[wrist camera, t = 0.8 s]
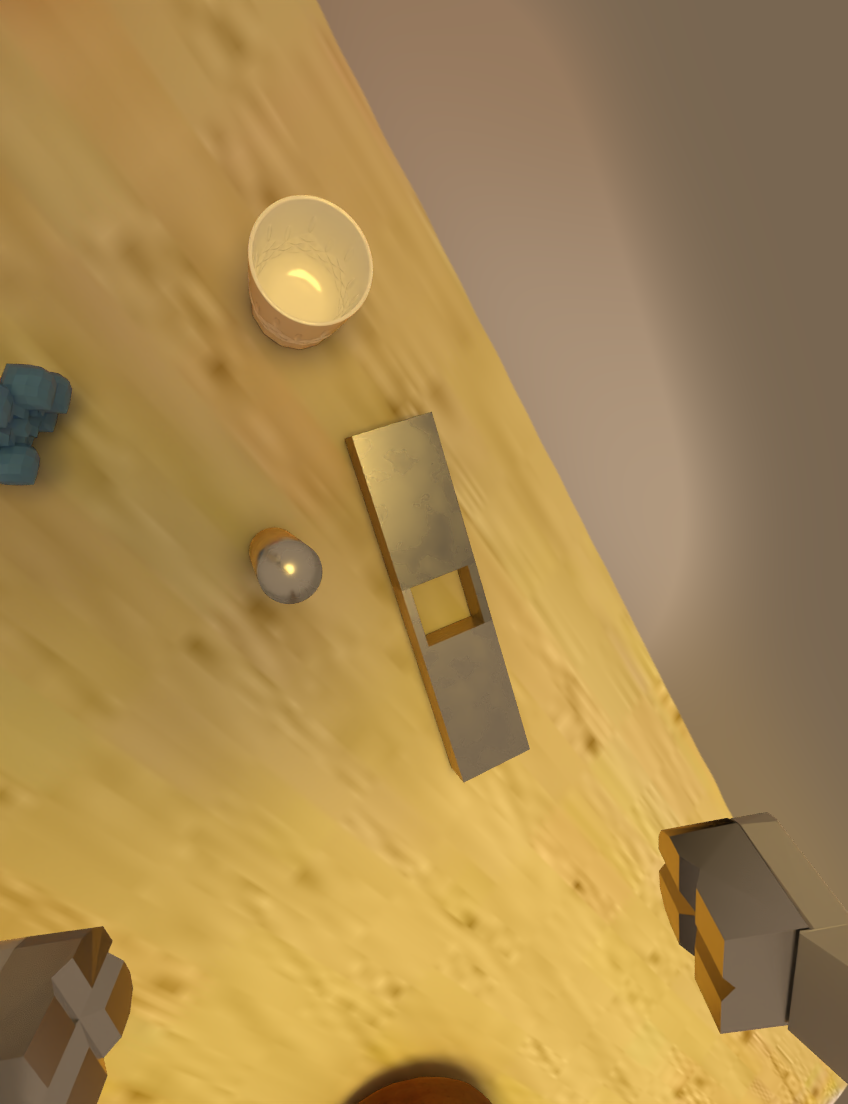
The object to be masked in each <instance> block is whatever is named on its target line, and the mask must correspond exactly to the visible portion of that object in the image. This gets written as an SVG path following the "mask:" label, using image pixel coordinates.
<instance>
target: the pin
mask: <svg viewBox="0 0 848 1104" xmlns="http://www.w3.org/2000/svg"><path fill="white" fill-rule="evenodd" d="M249 556H250V560H251V563H252V565H253V568H254V571H255V573H256V576H257V579H258V581H259V584H260V586H261V588H262V590H263V591H264V592H265V594H266V595H267V596H269V597H270V598H271V599H273V600H275V601H277V602H280V603H284V604H294V603H299V602H302V601H304V600H306V599H307V598H309V597H310V596H311V595H312V594H313V593H314V592H315V591H316V590H317V588H318V586H319V584H320V582H321V578H322V565H321V561H320V559H319V557H318V555H317V554H316V553H315V551H314V550H313V549H311V548H310V547H309V546H307V545H306V544H305V543H303V542H302V541H301V540H299V539H298V538H296V537H295V536H294V535H292V534H291V533H289V532H288V531H286V530H284V529H282V528H276V527H272V528H267V529H264V530H262V531H260V532H259V533H258V534H257V535H256V536H255V537H254V538H253V540H252V541H251V544H250V547H249Z"/></svg>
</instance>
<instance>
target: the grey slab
mask: <svg viewBox="0 0 848 1104" xmlns="http://www.w3.org/2000/svg"><path fill="white" fill-rule="evenodd" d="M345 442H346V445H347V449H348V452H349V455H350V458H351V461H352V464H353V467H354V470H355V473H356V476H357V479H358V482H359V485H360V488H361V492H362V495H363V498H364V501H365V504H366V507H367V510H368V513H369V516H370V519H371V522H372V525H373V528H374V531H375V535H376V538H377V541H378V544H379V547H380V550H381V553H382V556H383V559H384V562H385V565H386V568H387V571H388V574H389V578H390V581H391V584H392V587H393V590H394V593H395V596H396V599H397V602H398V605H399V608H400V611H401V614H402V617H403V621H404V624H405V627H406V630H407V633H408V636H409V639H410V642H411V645H412V648H413V651H414V654H415V657H416V660H417V663H418V667H419V670H420V673H421V676H422V679H423V682H424V685H425V688H426V691H427V694H428V697H429V700H430V703H431V706H432V710H433V713H434V716H435V719H436V722H437V725H438V728H439V731H440V734H441V737H442V740H443V743H444V746H445V749H446V753H447V756H448V759H449V762H450V765H451V768H452V769H453V770H454V771H455V773H456V774H457V775H458V776H459V778H460V779H461V780H462V781H463V782H466V781H468V780H470V779H472V778H474V777H476V776H478V775H480V774H482V773H484V772H486V771H487V770H489V769H491V768H493V767H495V766H497V765H499V764H501V763H503V762H505V761H507V760H509V759H511V758H513V757H515V756H517V755H519V754H521V753H523V752H525V751H527V750H529V749H530V748H529V745H528V741H527V738H526V735H525V731H524V728H523V724H522V721H521V717H520V714H519V710H518V707H517V704H516V700H515V697H514V693H513V690H512V686H511V683H510V680H509V676H508V673H507V669H506V666H505V662H504V659H503V655H502V652H501V649H500V645H499V642H498V638H497V635H496V631H495V628H494V625H493V621H492V618H491V614H490V611H489V607H488V604H487V600H486V597H485V594H484V590H483V587H482V583H481V580H480V576H479V573H478V570H477V566H476V563H475V559H474V556H473V552H472V549H471V545H470V542H469V539H468V535H467V532H466V528H465V525H464V521H463V518H462V515H461V511H460V508H459V504H458V501H457V497H456V494H455V490H454V487H453V484H452V480H451V477H450V473H449V470H448V466H447V463H446V460H445V456H444V453H443V449H442V446H441V442H440V439H439V436H438V432H437V429H436V425H435V422H434V418H433V415H432V412H430V413H426V414H423V415H420V416H416V417H413V418H410V419H407V420H403V421H400V422H397V423H394V424H390V425H387V426H384V427H381V428H377V429H374V430H371V431H367V432H364V433H361V434H358V435H354V436H351V437H348V438H346V439H345ZM454 570H458V573H459V577H460V580H461V583H462V587H463V590H464V593H465V597H466V600H467V603H468V607H469V610H470V613H471V616H470V617H468V618H465V619H463V620H460V621H458V622H456V623H453V624H451V625H448V626H446V627H444V628H441V629H439V630H437V631H434V632H432V633H429V634H427V635H425V633H424V630H423V627H422V624H421V621H420V618H419V615H418V612H417V608H416V605H415V602H414V599H413V596H412V593H411V590H410V588H411V587H414V586H416V585H419V584H421V583H424V582H426V581H429V580H431V579H434V578H437V577H439V576H442V575H444V574H447V573H449V572H452V571H454Z"/></svg>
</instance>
